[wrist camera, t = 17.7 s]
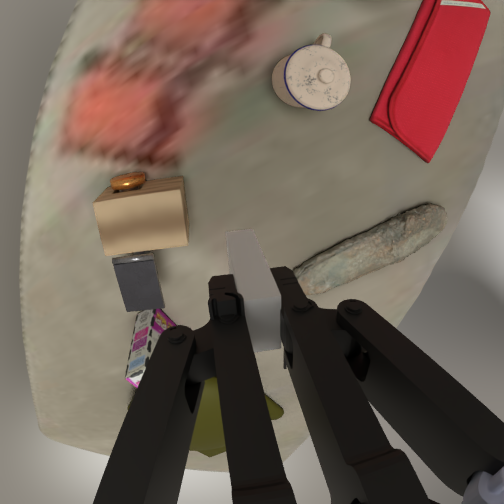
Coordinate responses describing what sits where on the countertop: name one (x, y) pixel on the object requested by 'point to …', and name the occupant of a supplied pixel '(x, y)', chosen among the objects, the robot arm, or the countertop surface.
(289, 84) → the teacup with lid
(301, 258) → the countertop surface
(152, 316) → the candy bar box
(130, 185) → the lynch pin
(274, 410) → the spaceship
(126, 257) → the plate
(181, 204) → the oak block
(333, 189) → the countertop surface
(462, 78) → the red long flat piece
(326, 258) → the long grey stone
